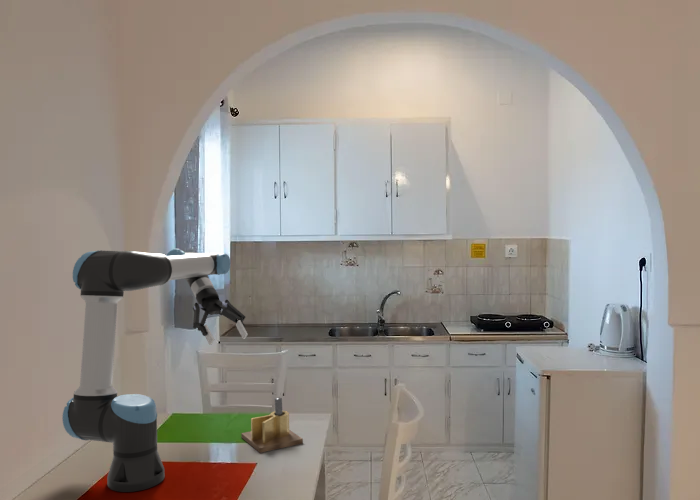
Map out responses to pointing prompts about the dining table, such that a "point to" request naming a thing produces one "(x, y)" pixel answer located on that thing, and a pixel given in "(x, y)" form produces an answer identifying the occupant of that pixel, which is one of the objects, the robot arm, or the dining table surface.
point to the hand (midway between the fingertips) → (229, 339)
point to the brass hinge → (270, 427)
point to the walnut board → (272, 442)
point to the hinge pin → (278, 406)
